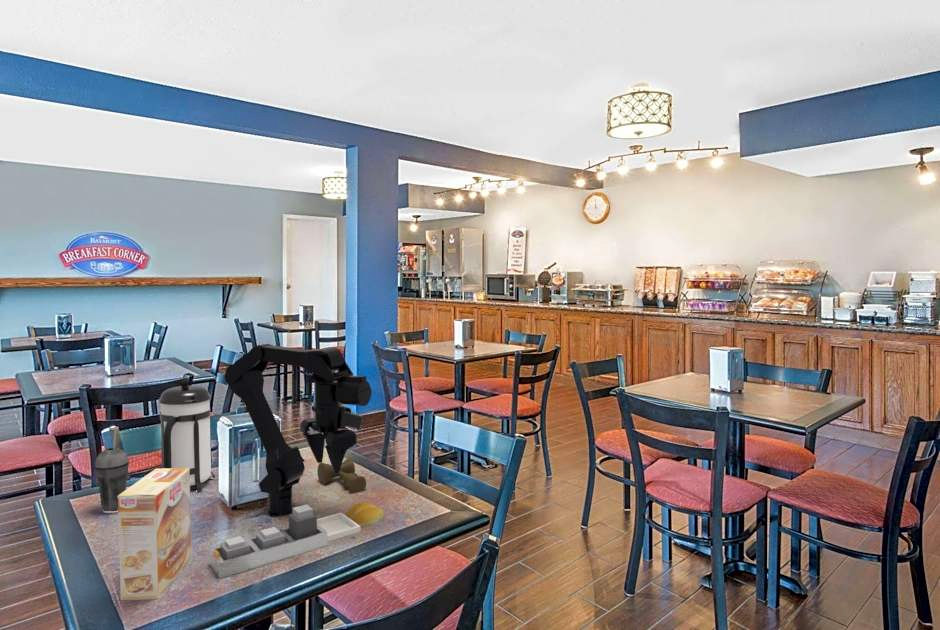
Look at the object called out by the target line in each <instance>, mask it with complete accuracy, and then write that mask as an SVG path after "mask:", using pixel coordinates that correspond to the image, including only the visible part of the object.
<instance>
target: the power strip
mask: <svg viewBox="0 0 940 630" xmlns="http://www.w3.org/2000/svg"><path fill="white" fill-rule="evenodd" d="M278 530H279V529H278ZM279 531H280V532H281V533H282V534H283V535H284V536H285V543H284V544H281V545H277V546H274V547H270V548H267V549H263V550H260V549H259V548H258V547H257V546H256V536H254V537H250V538H248V539H245V540H246V541H247V543H248V544H249V545H250V553H249V554H246V555H242V556H239V557H235V558H232V559H228V560H225V561H224V560H223V559H222V558H221V551H220V546H217V547H214V548H210V549H208V553H209V554H208V557H209V559H208V560H209V561H208V562H209V566H210V568H212V571H213V572H214V573H215V575H216V576H217V578H218V579H224V578H227V577H230V576H235V575H237V574H241V573H244V572H247V571H250V570H252V569H254V568H255V569H256V568H258V567H262V566H266V565H268V564H271V563H274V562H279V561H282V560H284V559H288V558H291V557H294V556H297V555H301V554H304V553H307V552H310V551H314V550H317V549H320V548H324V547H327V546H328V544H329V543H328V542H329V541H328V538H327V531H325V530H324V529H323V528H322V527H321V526H319V525H318V524H317V534H315V535H312V536H308V537H305V538H301V539H298V540H294V539H293V538H292V537H291V536H290V535H289V527H287V528H284V529H280V530H279Z"/></svg>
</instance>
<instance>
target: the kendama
mask: <svg viewBox="0 0 940 630" xmlns="http://www.w3.org/2000/svg"><path fill="white" fill-rule="evenodd" d="M316 472H317V478H318V481H319V483H321V484H322V485H324V486H325V485H326V484H327V483H328V482H330V480H331V479H334V478H338V477H339V478H340V479H341V480H342V484H343V487H344V488H346V489H348V491H349V492H350V494H356V493H357V494H358V493H360V492H364V491H365V489H366V488H367V479H366V478H365V476H362V475H358V474H357V473H355V472H356V467H355V462H354V461H353V459H351V458H347V459H345V460H343V462H342V465H341V468H340V471H339V473H334V471H333V468H332V465H331V463H330V464H329V463H325V462H323V461H322V462H321V463H318V466H317V470H316Z"/></svg>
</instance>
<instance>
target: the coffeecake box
mask: <svg viewBox="0 0 940 630" xmlns="http://www.w3.org/2000/svg"><path fill="white" fill-rule="evenodd" d="M117 497H118V513H117V515H118V516H117V517H118V520H117V521H118V522H117V523H118V552H119V554H118V555H119V559H118V560H119V583H120V584H119V587H120V589H119V590H120V596H119V597H120V599H119V600H120V601H137V600H158V599H160V598H161V597H162V596H163V595H164V594H165V593H166V592H167V590H168V589H169V588H170V587H171V586H172V584H173V583H174V582H175V581H176V579H177V578H178V577H179V576H180V574H181V573H182V571H184V569H185V568H186V567H187V565H188V564H189V563H190V561H191V560H192V544H191V543H192V541H191V539H192V535H191V530H192V527H191V486H190V468H162V467H161V468H157V467H156V468H155V469H153V470H152V471H150V472H149V473H148V474H146V475H145V476H144V477H142V478H141V479H139V480H137V481H136V482H135V483H134V484H132V485H131V486H129V487H128V488H126V490H125V491H124V492H122V493H121V494H120V495H118V496H117Z"/></svg>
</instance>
